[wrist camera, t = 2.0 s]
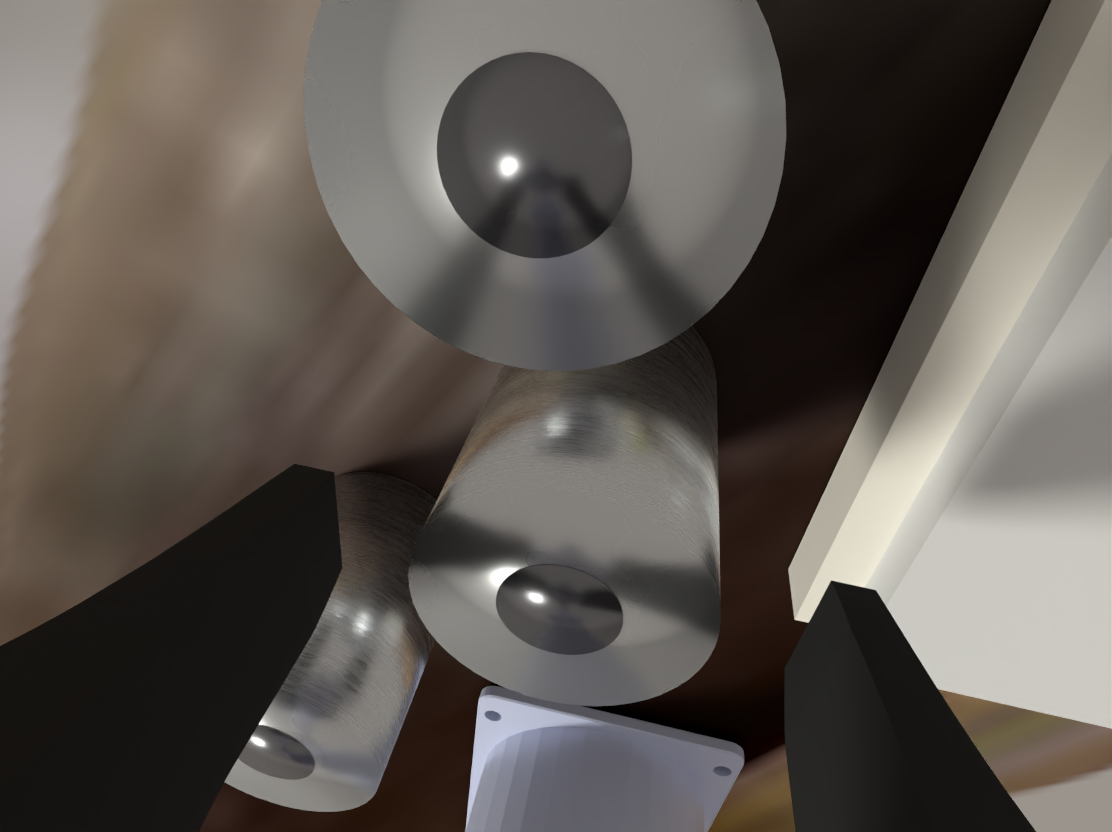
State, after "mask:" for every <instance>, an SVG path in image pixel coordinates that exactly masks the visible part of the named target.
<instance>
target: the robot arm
mask: <svg viewBox="0 0 1112 832" xmlns="http://www.w3.org/2000/svg"><path fill="white" fill-rule="evenodd" d="M341 570H342V556H341V545H340V534H339V522H338V511H337V499H336V488H335V477H334V472H330V471H325V470H320V469H316V468H311V467H307V466H302V465H297V464H294V465H292V466H291V467H289V468H288V469H286V470H285V471H283V472H282V473H280V474H279V475H277V476H276V477H274V478H273V479H271V480H270V481H268V482H267V483H265V484H264V485H262V486H261V487H259V488H258V489H257V490H255V491H254V492H252V493H251V494H249V495H248V496H246V497H245V498H243V499H242V500H240V501H239V502H238V503H236V504H235V505H233V506H232V507H230V508H229V509H227V510H226V511H224V512H223V513H221V514H220V515H219V516H217V517H216V518H214V519H213V520H211V521H210V522H208V523H207V524H205V525H204V526H202V527H201V528H199V529H198V530H196V531H195V532H193V533H192V534H190V535H189V536H187V537H186V538H184V539H182V540H181V541H179V542H178V543H176V544H175V545H173V546H172V547H170V548H169V549H167V550H166V551H164V552H163V553H161V554H160V555H158V556H157V557H155V558H153V559H152V560H150V561H149V562H147V563H146V564H144V565H142V566H141V567H139V568H137V569H136V570H134V571H132V572H131V573H129V574H128V575H126V576H124V577H123V578H121V579H119V580H118V581H116V582H114V583H113V584H111V585H109V586H108V587H106V588H104V589H103V590H101V591H99V592H98V593H96V594H94V595H93V596H91V597H89V598H88V599H86V600H84V601H83V602H81V603H79V604H78V605H76V606H74V607H72V608H71V609H69V610H67V611H65V612H63V613H62V614H60V615H58V616H56V617H55V618H53V619H51V620H49V621H47V622H45V623H44V624H42V625H40V626H38V627H36V628H34V629H33V630H31V631H29V632H27V633H25V634H23V635H21V636H19V637H17V638H15V639H13V640H11V641H9V642H7V643H6V644H4V645H2V646H0V832H199V830H200V828H201V826H202V824H203V822H204V820H205V818H206V816H207V814H208V812H209V810H210V808H211V806H212V804H213V802H214V800H215V798H216V796H217V795H218V793H219V791H220V789H221V787H222V786H223V784H224V782H225V780H226V778H227V776H228V775H229V773H230V771H231V769H232V768H233V766H234V764H235V763H236V761H237V759H238V758H239V756H240V754H241V753H242V751H243V749H244V748H245V746H246V744H247V743H248V741H249V739H250V738H251V736H252V734H253V733H254V731H255V729H256V728H257V726H258V724H259V723H260V721H261V719H262V718H263V716H264V714H265V713H266V711H267V709H268V708H269V706H270V705H271V703H272V701H273V700H274V698H275V696H276V695H277V693H278V691H279V690H280V688H281V686H282V685H283V683H284V681H285V680H286V678H287V676H288V675H289V673H290V671H291V670H292V668H293V666H294V664H295V663H296V661H297V659H298V658H299V656H300V654H301V653H302V651H303V649H304V648H305V646H306V644H307V643H308V641H309V639H310V637H311V636H312V634H313V632H314V630H315V629H316V626H317V624H318V622H319V620H320V618H321V615H322V613H323V611H324V609H325V607H326V605H327V602H328V600H329V598H330V596H331V593H332V591H333V589H334V586H335V584H336V582H337V579H338V577H339V575H340V572H341ZM784 714H785V746H786V755H787V763H788V772H789V780H790V788H791V797H792V805H793V813H794V821H795V828H796V832H1036V831H1035V830H1034V828H1033V827H1032V826H1031V824H1030V823H1029V821H1028V820H1027V819H1026V817H1025V816H1024V815H1023V813H1022V812H1021V811H1020V809H1019V808H1018V806H1017V805H1016V804H1015V802H1014V801H1013V800H1012V798H1011V797H1010V795H1009V794H1008V793H1007V791H1006V790H1005V789H1004V787H1003V786H1002V784H1001V783H1000V781H999V780H998V779H997V777H996V776H995V774H994V773H993V771H992V770H991V769H990V767H989V766H988V764H987V763H986V761H985V760H984V758H983V757H982V755H981V754H980V752H979V751H978V749H977V748H976V746H975V745H974V743H973V742H972V740H971V739H970V737H969V736H968V734H967V733H966V731H965V730H964V728H963V727H962V725H961V724H960V722H959V721H958V719H957V718H956V716H955V715H954V713H953V712H952V710H951V709H950V707H949V706H948V704H947V703H946V701H945V699H944V698H943V696H942V695H941V693H940V692H939V690H938V689H937V687H936V685H935V684H934V682H933V681H932V679H931V677H930V676H929V674H928V673H927V671H926V669H925V668H924V666H923V665H922V663H921V662H920V660H919V658H918V657H917V655H916V654H915V652H914V650H913V649H912V647H911V645H910V644H909V642H908V641H907V639H906V637H905V636H904V634H903V633H902V631H901V629H900V628H899V626H898V625H897V623H896V621H895V620H894V618H893V617H892V615H891V613H890V612H889V610H888V609H887V607H886V605H885V604H884V602H883V601H882V599H881V597H880V596H879V594H878V593H877V591H876V590H873V589H868V588H864V587H859V586H855V585H850V584H845V583H841V582H836V581H832V580H831V582H830V583H829V585H828V587H827V589H826V591H825V593H824V595H823V597H822V599H821V601H820V602H819V604H818V606H817V608H816V610H815V612H814V614H813V616H812V618H811V620H810V621H809V623H808V625H807V627H806V629H805V631H804V633H803V635H802V637H801V639H800V640H799V642H798V644H797V646H796V648H795V650H794V652H793V654H792V656H791V658H790V659H789V661H788V663H787V665H786V667H785V695H784ZM743 766H744V751H743V749H742V748H741V747H740V746H739V745H737V744H736V743H733V742H730V741H726V740H722V739H718V738H714V737H709V736H705V735H701V734H697V733H693V732H688V731H684V730H680V729H676V728H672V727H667V726H663V725H659V724H655V723H651V722H646V721H642V720H638V719H634V718H630V717H625V716H621V715H617V714H613V713H609V712H604V711H600V710H596V709H592V708H588V707H583V706H577V705H569V704H560V703H555V702H550V701H545V700H541V699H537V698H533V697H530V696H526V695H523V694H520V693H518V692H515V691H512V690H509V689H507V688H503V687H499V686H488V687H485V688H484V689H482V692H481V694H480V698H479V701H478V710H477V720H476V730H475V740H474V751H473V761H472V771H471V781H470V791H469V801H468V811H467V821H466V832H708V831H709V829H710V827H711V825H712V823H713V821H714V820H715V818H716V816H717V814H718V812H719V810H720V808H721V807H722V805H723V803H724V801H725V799H726V797H727V795H728V794H729V792H730V790H731V788H732V786H733V784H734V782H735V780H736V779H737V777H738V775H739V773H740V771H741V769H742V767H743Z"/></svg>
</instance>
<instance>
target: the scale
mask: <svg viewBox="0 0 1112 832" xmlns="http://www.w3.org/2000/svg"><path fill="white" fill-rule="evenodd" d="M788 571H789V578H790V586H791V594H792V602H793V610H794V618H795V620H799V621H803V622H808V623H809V621H810V620H811V618H812V616H813V614H814V612H815V610H816V608H817V606H818V604H819V602H820V601H821V599H822V597H823V595H824V593H825V591H826V589H827V587H828V585H829V583H830V582H831V580H832V581H836V582H841V583H845V584H850V585H855V586H859V587H864V588H868V589H873V590H876V591H877V593H878V594H879V596H880V597H881V599H882V601H883V602H884V604H885V605H886V607H887V609H888V610H889V612H890V613H891V615H892V617H893V618H894V620H895V621H896V623H897V625H898V626H899V628H900V629H901V631H902V633H903V634H904V636H905V637H906V639H907V641H908V642H909V644H910V645H911V647H912V649H913V650H914V652H915V654H916V655H917V657H918V658H919V660H920V662H921V663H922V665H923V666H924V668H925V669H926V671H927V673H928V674H929V676H930V677H931V679H932V681H933V682H934V684H935V685H936V687H937V689H939V690H944V691H948V692H953V693H957V694H961V695H966V696H970V697H975V698H979V699H983V700H988V701H992V702H997V703H1001V704H1005V705H1010V706H1014V707H1019V708H1023V709H1027V710H1032V711H1036V712H1041V713H1045V714H1049V715H1054V716H1058V717H1063V718H1067V719H1072V720H1076V721H1080V722H1085V723H1089V724H1094V725H1098V726H1102V727H1107V728H1111V729H1112V0H1051V3H1050V5H1049V7H1048V9H1047V11H1046V13H1045V16H1044V18H1043V20H1042V22H1041V24H1040V26H1039V29H1038V31H1037V33H1036V35H1035V37H1034V39H1033V41H1032V44H1031V46H1030V48H1029V50H1028V52H1027V54H1026V57H1025V59H1024V61H1023V63H1022V65H1021V67H1020V70H1019V72H1018V74H1017V76H1016V78H1015V80H1014V83H1013V85H1012V87H1011V89H1010V91H1009V93H1008V96H1007V98H1006V100H1005V102H1004V104H1003V106H1002V109H1001V111H1000V113H999V115H998V117H997V119H996V121H995V124H994V126H993V128H992V130H991V132H990V134H989V137H988V139H987V141H986V143H985V145H984V147H983V150H982V152H981V154H980V156H979V158H978V160H977V163H976V165H975V167H974V169H973V171H972V173H971V176H970V178H969V180H968V182H967V184H966V186H965V189H964V191H963V193H962V195H961V197H960V199H959V201H958V204H957V206H956V208H955V210H954V212H953V214H952V217H951V219H950V221H949V223H948V225H947V227H946V230H945V232H944V234H943V236H942V238H941V240H940V243H939V245H938V247H937V249H936V251H935V253H934V256H933V258H932V260H931V262H930V264H929V266H928V269H927V271H926V273H925V275H924V277H923V279H922V281H921V284H920V286H919V288H918V290H917V292H916V294H915V297H914V299H913V301H912V303H911V305H910V307H909V310H908V312H907V314H906V316H905V318H904V320H903V323H902V325H901V327H900V329H899V331H898V333H897V336H896V338H895V340H894V342H893V344H892V346H891V348H890V351H889V353H888V355H887V357H886V359H885V361H884V364H883V366H882V368H881V370H880V372H879V374H878V377H877V379H876V381H875V383H874V385H873V387H872V390H871V392H870V394H869V396H868V398H867V400H866V403H865V405H864V407H863V409H862V411H861V413H860V416H859V418H858V420H857V422H856V424H855V426H854V428H853V431H852V433H851V435H850V437H849V439H848V441H847V444H846V446H845V448H844V450H843V452H842V454H841V457H840V459H839V461H838V463H837V465H836V467H835V470H834V472H833V474H832V476H831V478H830V480H829V483H828V485H827V487H826V489H825V491H824V493H823V496H822V498H821V500H820V502H819V504H818V506H817V508H816V511H815V513H814V515H813V517H812V519H811V521H810V524H809V526H808V528H807V530H806V532H805V534H804V537H803V539H802V541H801V543H800V545H799V547H798V550H797V552H796V554H795V556H794V558H793V560H792V563H791V565H790V567H789V569H788Z"/></svg>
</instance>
